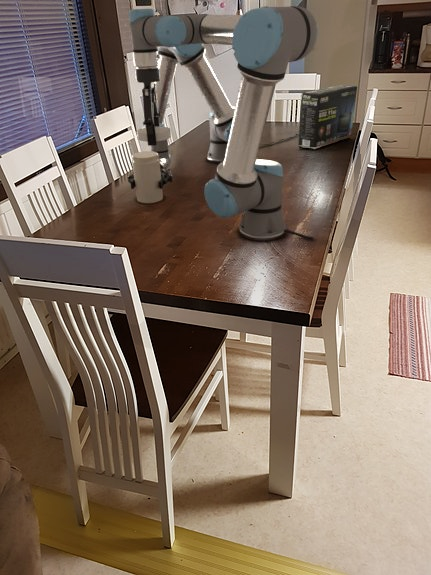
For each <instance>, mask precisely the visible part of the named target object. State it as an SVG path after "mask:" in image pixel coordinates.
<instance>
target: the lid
mask: <svg viewBox="0 0 431 575" xmlns="http://www.w3.org/2000/svg"><path fill="white" fill-rule="evenodd" d="M155 132H156V141H162V140H166V139H168V140H169V139H171V138H172V132H171V128H170V127H167V126H166V127H161V126H155ZM136 136H137V140H138V141H140V142H146V143H148V141H147V131H146V128H142V127H141V128H139V129H137V130H136Z"/></svg>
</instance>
